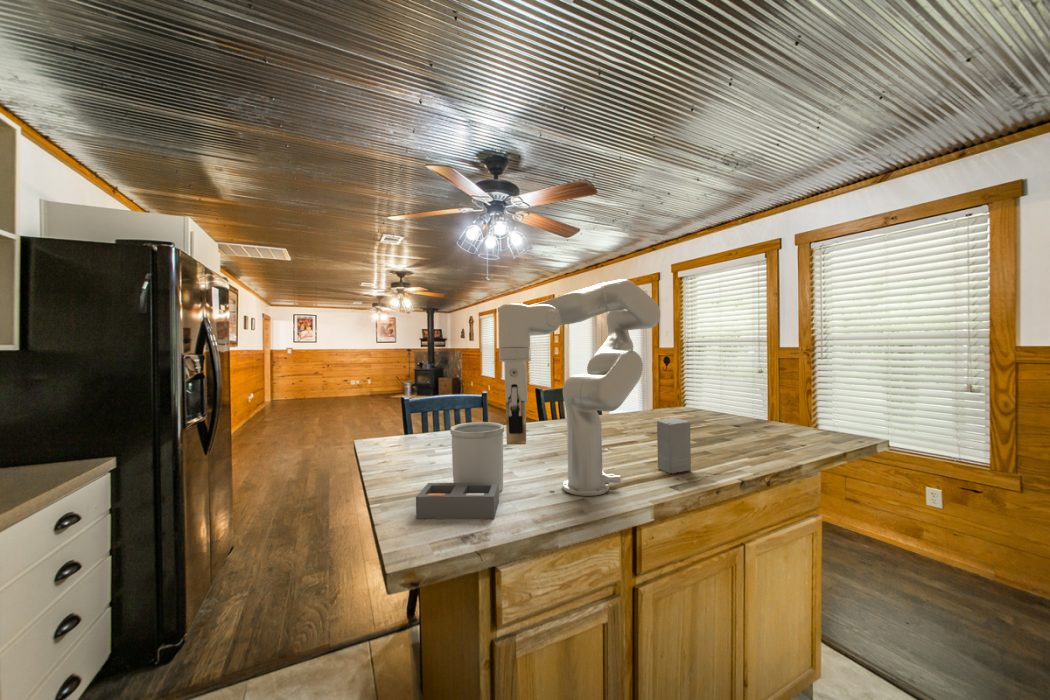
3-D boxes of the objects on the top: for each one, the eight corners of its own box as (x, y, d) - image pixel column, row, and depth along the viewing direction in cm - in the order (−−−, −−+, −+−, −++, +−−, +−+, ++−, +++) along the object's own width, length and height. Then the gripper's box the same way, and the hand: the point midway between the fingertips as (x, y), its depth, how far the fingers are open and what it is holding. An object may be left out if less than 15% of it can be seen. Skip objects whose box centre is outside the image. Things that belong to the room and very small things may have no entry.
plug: (526, 440, 97) (525, 399, 97) (525, 444, 93) (524, 401, 93) (508, 440, 97) (507, 399, 98) (506, 444, 93) (505, 402, 93)
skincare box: (677, 465, 130) (676, 417, 130) (693, 471, 123) (692, 420, 123) (655, 468, 127) (654, 419, 127) (670, 474, 120) (669, 422, 120)
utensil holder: (497, 500, 101) (495, 432, 102) (442, 497, 104) (441, 430, 105) (510, 482, 116) (509, 422, 116) (462, 479, 119) (461, 421, 119)
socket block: (498, 502, 100) (498, 481, 100) (494, 518, 90) (493, 495, 90) (428, 502, 101) (428, 482, 101) (416, 518, 91) (415, 496, 91)
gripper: (529, 355, 87) (531, 438, 87) (531, 355, 104) (532, 424, 103) (495, 355, 87) (497, 438, 87) (502, 355, 104) (504, 425, 104)
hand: (516, 430), depth 95 cm, fingers closed on plug, 4 cm apart
